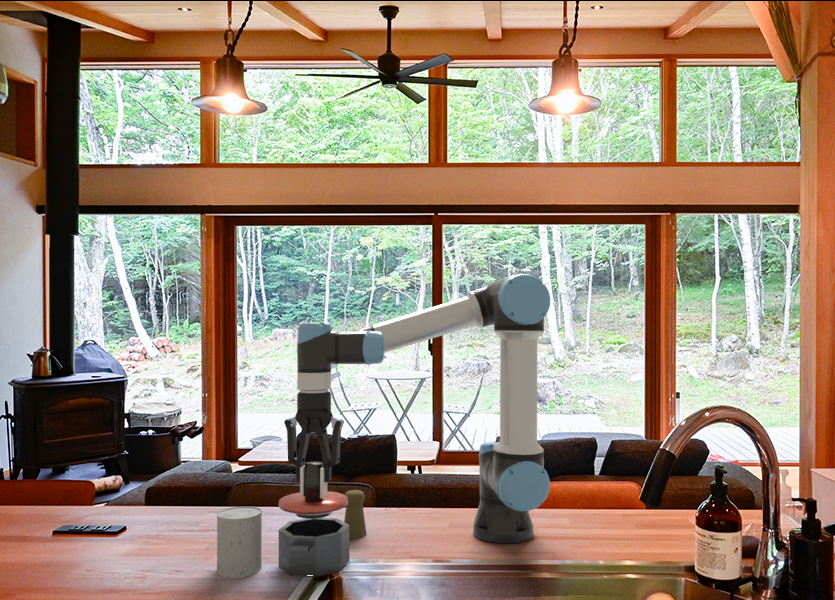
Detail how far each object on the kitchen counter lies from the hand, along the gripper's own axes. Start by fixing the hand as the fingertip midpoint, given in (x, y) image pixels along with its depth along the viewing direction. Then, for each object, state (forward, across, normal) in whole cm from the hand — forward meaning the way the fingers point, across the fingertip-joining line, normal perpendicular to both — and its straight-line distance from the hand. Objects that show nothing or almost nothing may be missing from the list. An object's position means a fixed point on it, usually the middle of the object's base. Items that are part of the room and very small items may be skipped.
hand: (313, 495), depth 146 cm
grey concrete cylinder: (+15, +15, +6) cm, 22 cm away
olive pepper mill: (+15, -3, -21) cm, 26 cm away
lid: (+4, 0, 0) cm, 4 cm away
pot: (+15, 0, 0) cm, 15 cm away
